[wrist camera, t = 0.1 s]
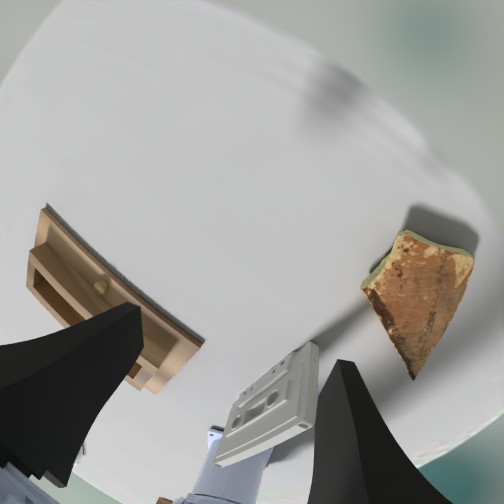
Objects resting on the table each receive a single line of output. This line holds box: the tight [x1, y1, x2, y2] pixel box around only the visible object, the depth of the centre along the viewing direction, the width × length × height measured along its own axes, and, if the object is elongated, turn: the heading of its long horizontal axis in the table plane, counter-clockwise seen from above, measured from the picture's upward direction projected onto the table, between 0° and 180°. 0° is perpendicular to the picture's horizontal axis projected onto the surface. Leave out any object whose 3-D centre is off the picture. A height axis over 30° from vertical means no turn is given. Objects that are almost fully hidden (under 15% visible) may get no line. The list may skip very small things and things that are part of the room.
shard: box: [360, 229, 474, 380], centre depth 17 cm, size 11×8×2 cm
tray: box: [26, 208, 202, 395], centre depth 23 cm, size 11×20×3 cm, turn 54°
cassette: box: [212, 341, 319, 468], centre depth 20 cm, size 12×2×8 cm, turn 146°
